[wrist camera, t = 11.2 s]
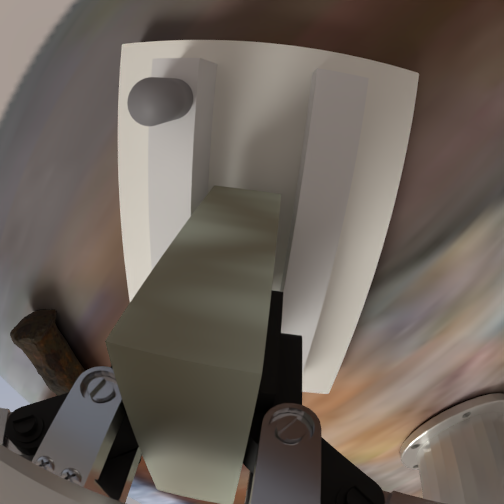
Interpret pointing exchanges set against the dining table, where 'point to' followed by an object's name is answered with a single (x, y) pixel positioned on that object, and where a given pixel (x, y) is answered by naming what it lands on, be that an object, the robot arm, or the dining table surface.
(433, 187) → the dining table surface
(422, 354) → the dining table surface
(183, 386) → the rectangular block
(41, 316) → the hand tool
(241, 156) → the slider channel
